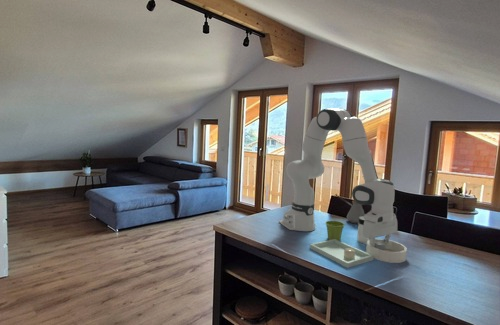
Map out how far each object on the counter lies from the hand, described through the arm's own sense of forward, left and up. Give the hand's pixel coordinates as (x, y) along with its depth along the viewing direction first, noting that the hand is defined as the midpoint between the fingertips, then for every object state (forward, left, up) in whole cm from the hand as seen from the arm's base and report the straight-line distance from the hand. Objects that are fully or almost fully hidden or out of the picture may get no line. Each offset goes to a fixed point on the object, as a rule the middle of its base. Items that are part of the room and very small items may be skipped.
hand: (379, 244), depth 133 cm
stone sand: (-2, -18, -4) cm, 18 cm away
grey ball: (0, 0, -3) cm, 3 cm away
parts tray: (-7, -18, -4) cm, 20 cm away
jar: (-13, +7, -4) cm, 15 cm away
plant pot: (-22, -6, -4) cm, 23 cm away
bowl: (+3, 0, -4) cm, 5 cm away
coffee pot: (-42, +29, -4) cm, 51 cm away
